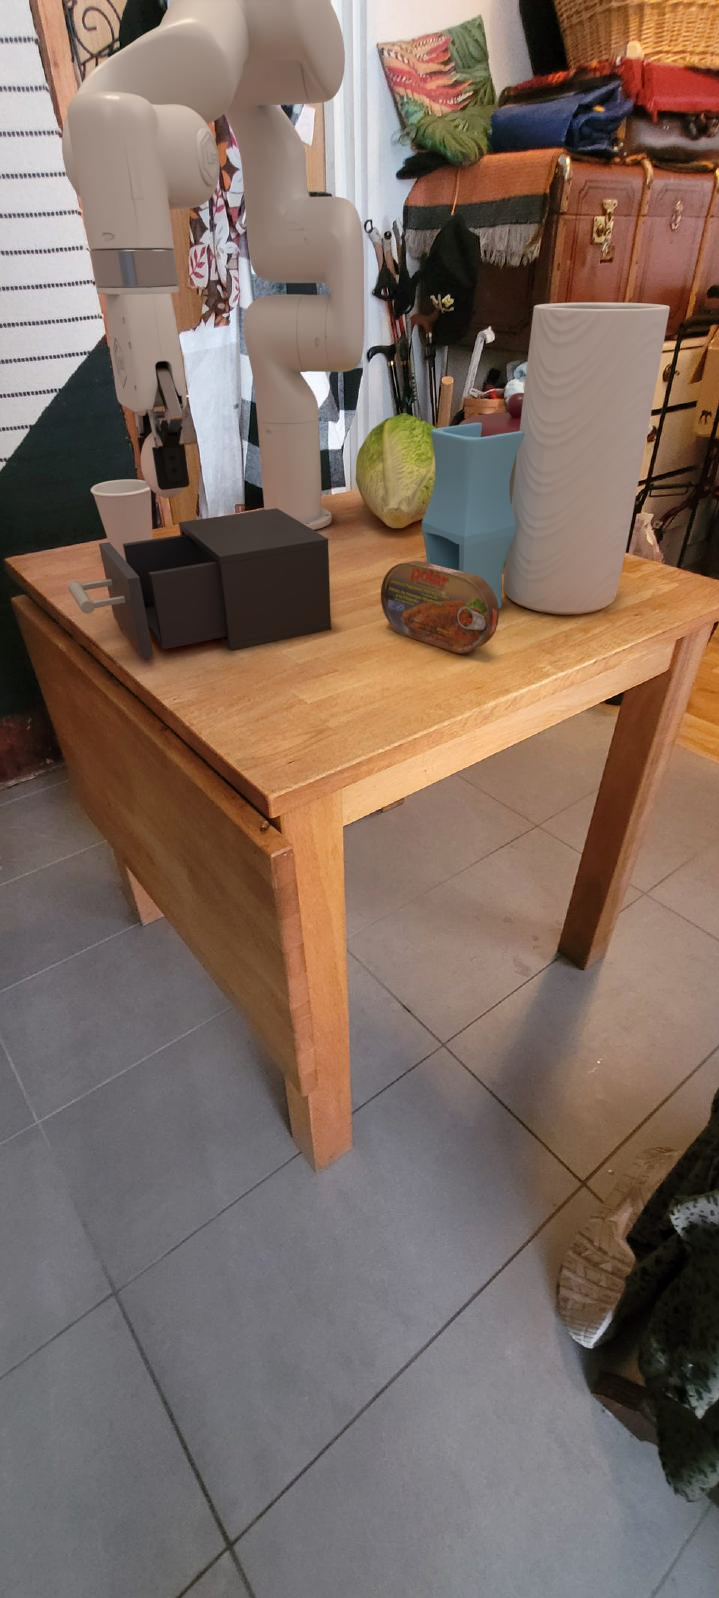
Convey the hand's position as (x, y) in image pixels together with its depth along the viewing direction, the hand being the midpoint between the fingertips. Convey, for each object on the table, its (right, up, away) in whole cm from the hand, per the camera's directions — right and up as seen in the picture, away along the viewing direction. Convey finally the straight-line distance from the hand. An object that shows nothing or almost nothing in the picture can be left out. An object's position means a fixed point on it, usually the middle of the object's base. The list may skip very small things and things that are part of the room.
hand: (166, 480), depth 81 cm
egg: (0, -2, +1) cm, 2 cm away
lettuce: (+27, +14, +48) cm, 57 cm away
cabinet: (+8, -12, +12) cm, 19 cm away
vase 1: (+34, -9, +16) cm, 38 cm away
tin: (+29, -16, +7) cm, 34 cm away
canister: (+42, +3, +32) cm, 53 cm away
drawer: (-3, -14, +7) cm, 16 cm away
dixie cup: (-13, +2, +32) cm, 35 cm away
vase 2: (+46, -8, +17) cm, 50 cm away
